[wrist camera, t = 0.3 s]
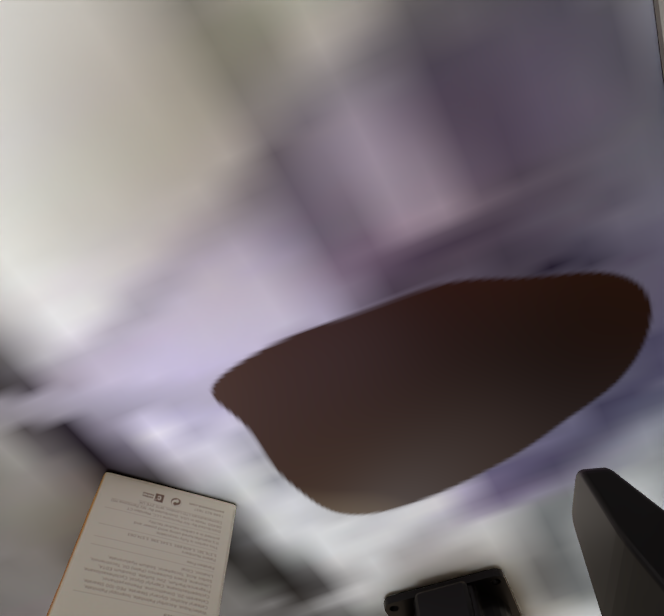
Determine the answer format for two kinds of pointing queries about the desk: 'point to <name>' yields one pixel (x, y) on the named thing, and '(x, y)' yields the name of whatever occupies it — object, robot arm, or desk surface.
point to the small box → (147, 553)
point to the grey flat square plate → (660, 27)
